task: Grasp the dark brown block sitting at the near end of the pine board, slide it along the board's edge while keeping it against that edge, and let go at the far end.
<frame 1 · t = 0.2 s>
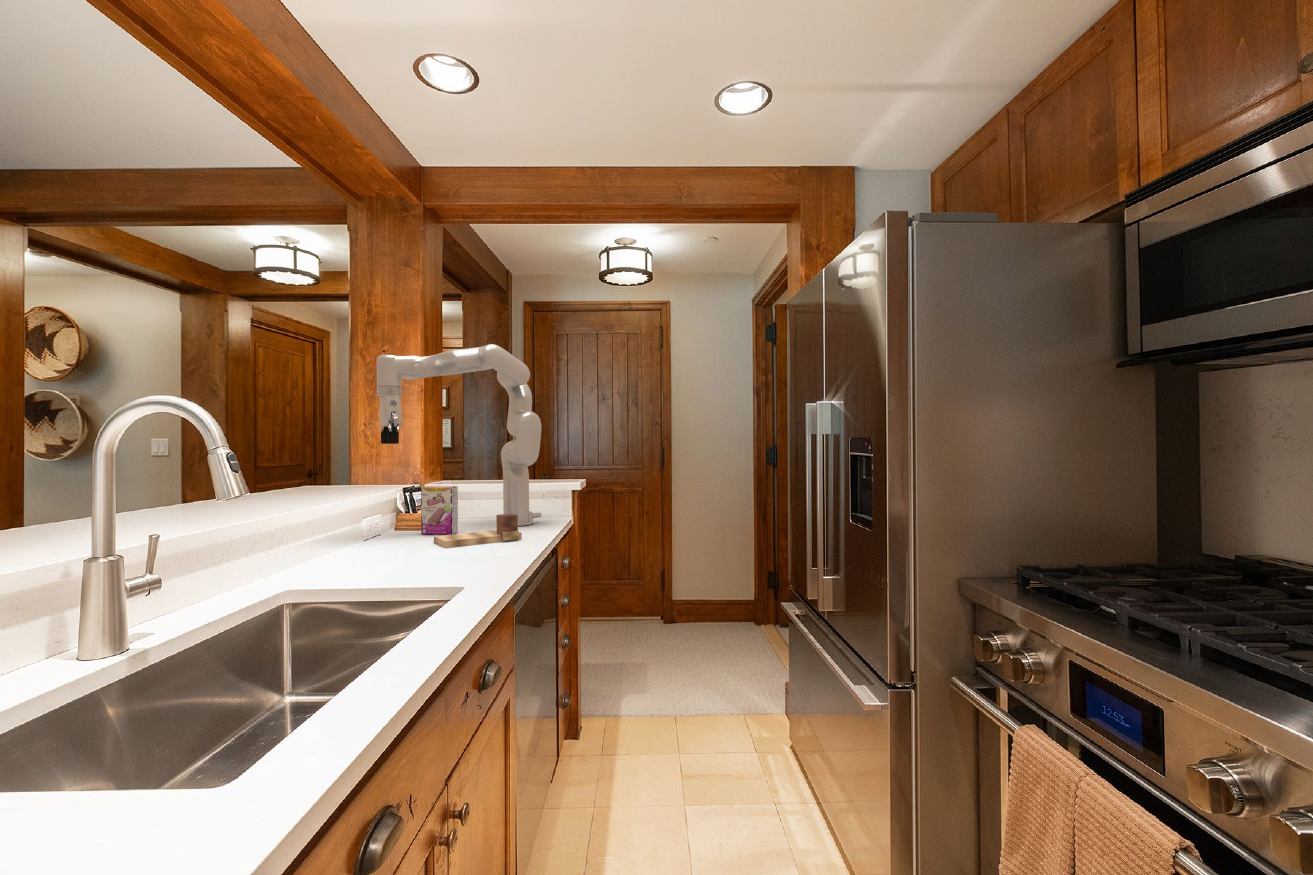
hand: (389, 443, 203), 31 cm above the worktop, fingers open, 9 cm apart
brown block: (507, 533, 194), point 2 cm above the worktop, touching pine board
candy bar box: (439, 534, 208), on the worktop
pine board: (478, 541, 193), on the worktop
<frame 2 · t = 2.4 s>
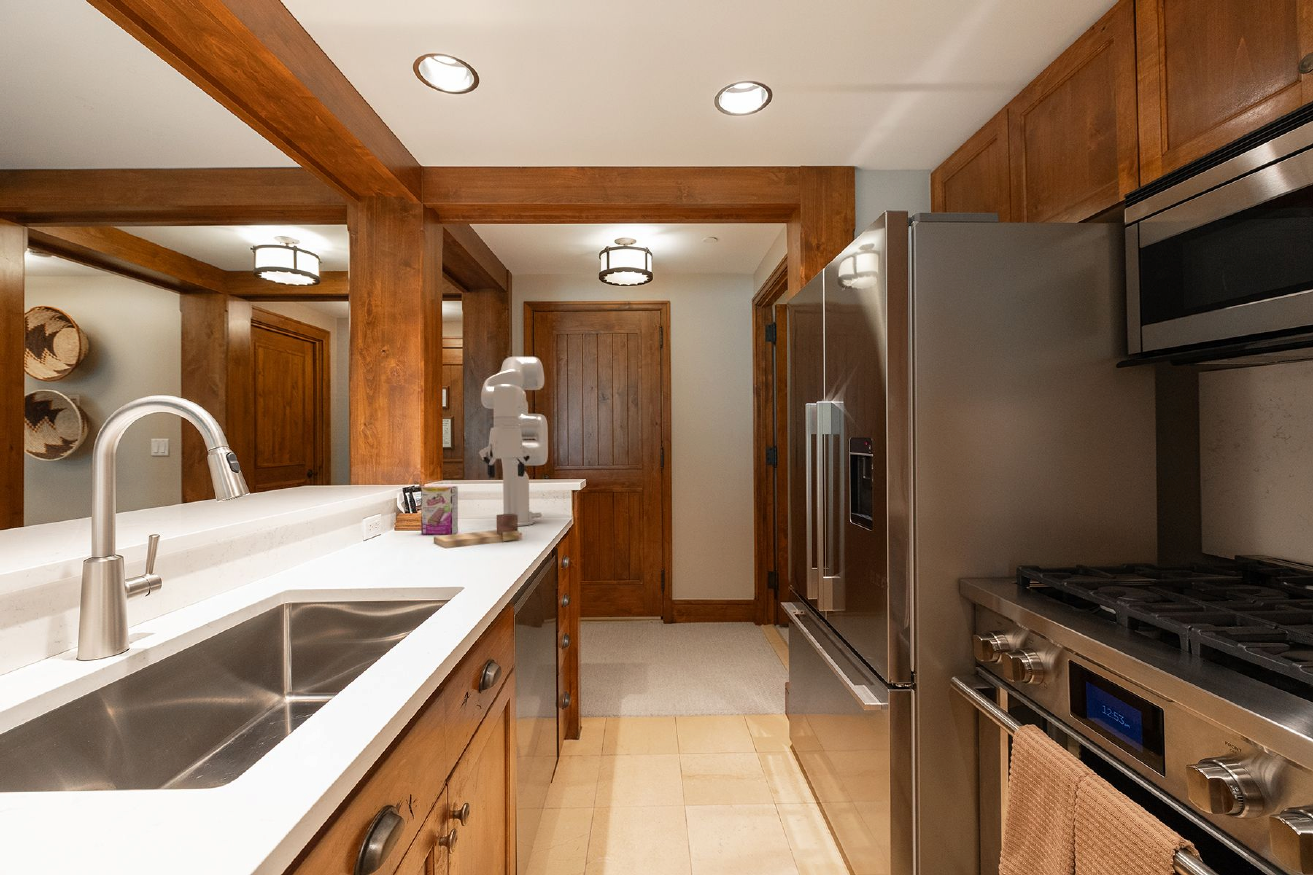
hand: (506, 477, 194), 20 cm above the worktop, fingers open, 9 cm apart
nothing on the worktop moved.
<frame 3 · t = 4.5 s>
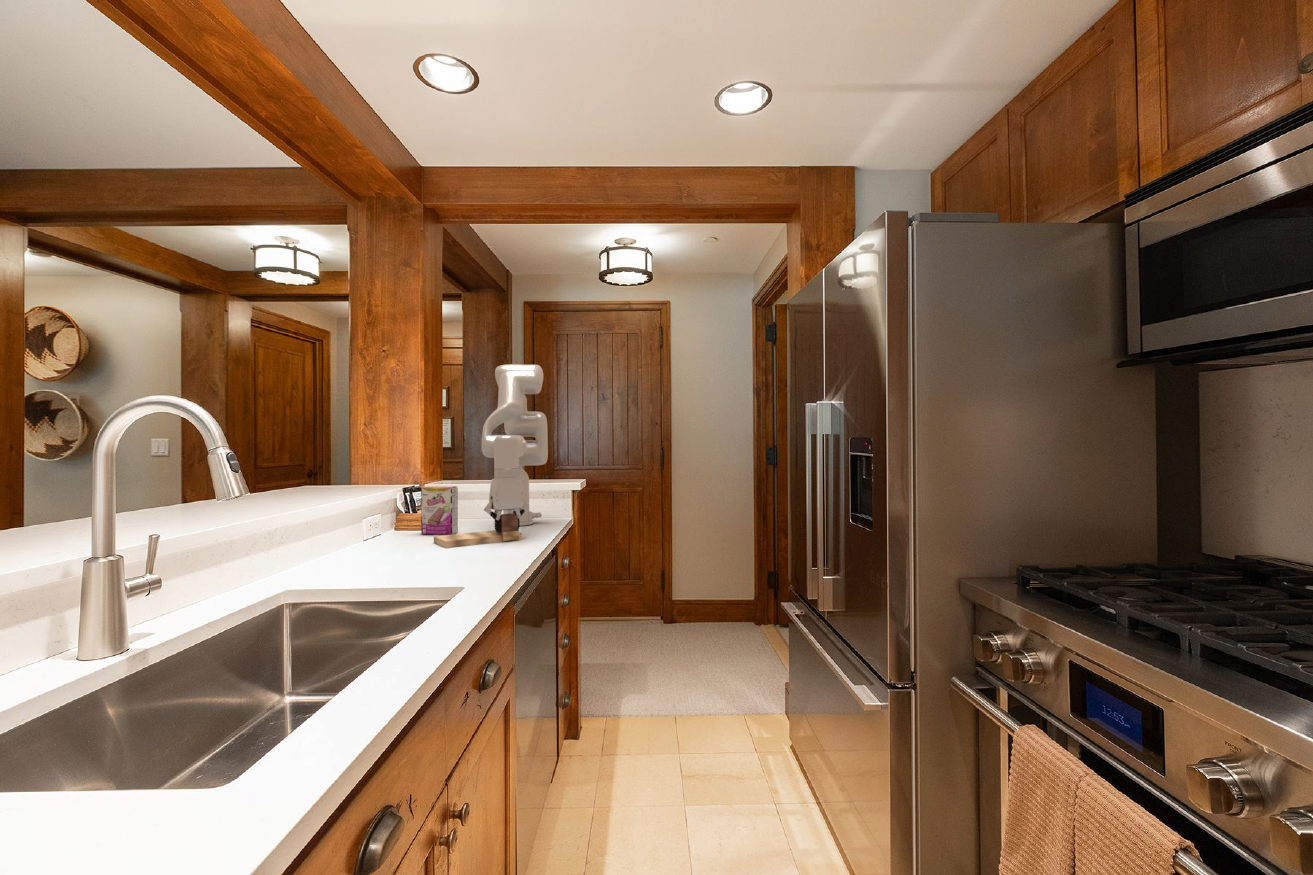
hand: (507, 530, 194), 3 cm above the worktop, fingers closed on brown block, 5 cm apart
brown block: (507, 533, 194), point 2 cm above the worktop, touching gripper, pine board
everything else where it was.
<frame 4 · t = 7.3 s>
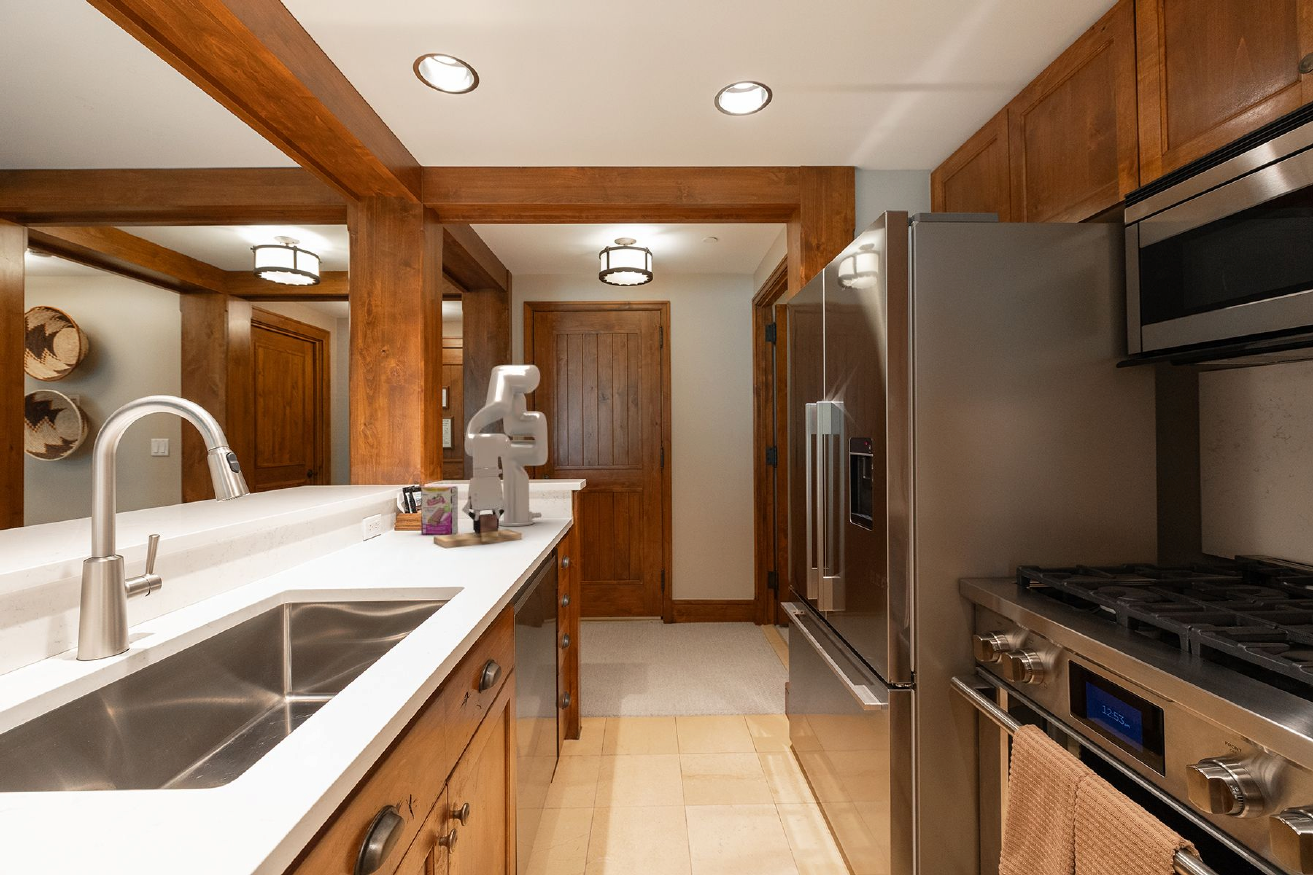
hand: (486, 531, 190), 3 cm above the worktop, fingers closed on brown block, 5 cm apart
brown block: (486, 534, 190), point 2 cm above the worktop, touching gripper
everything else where it was.
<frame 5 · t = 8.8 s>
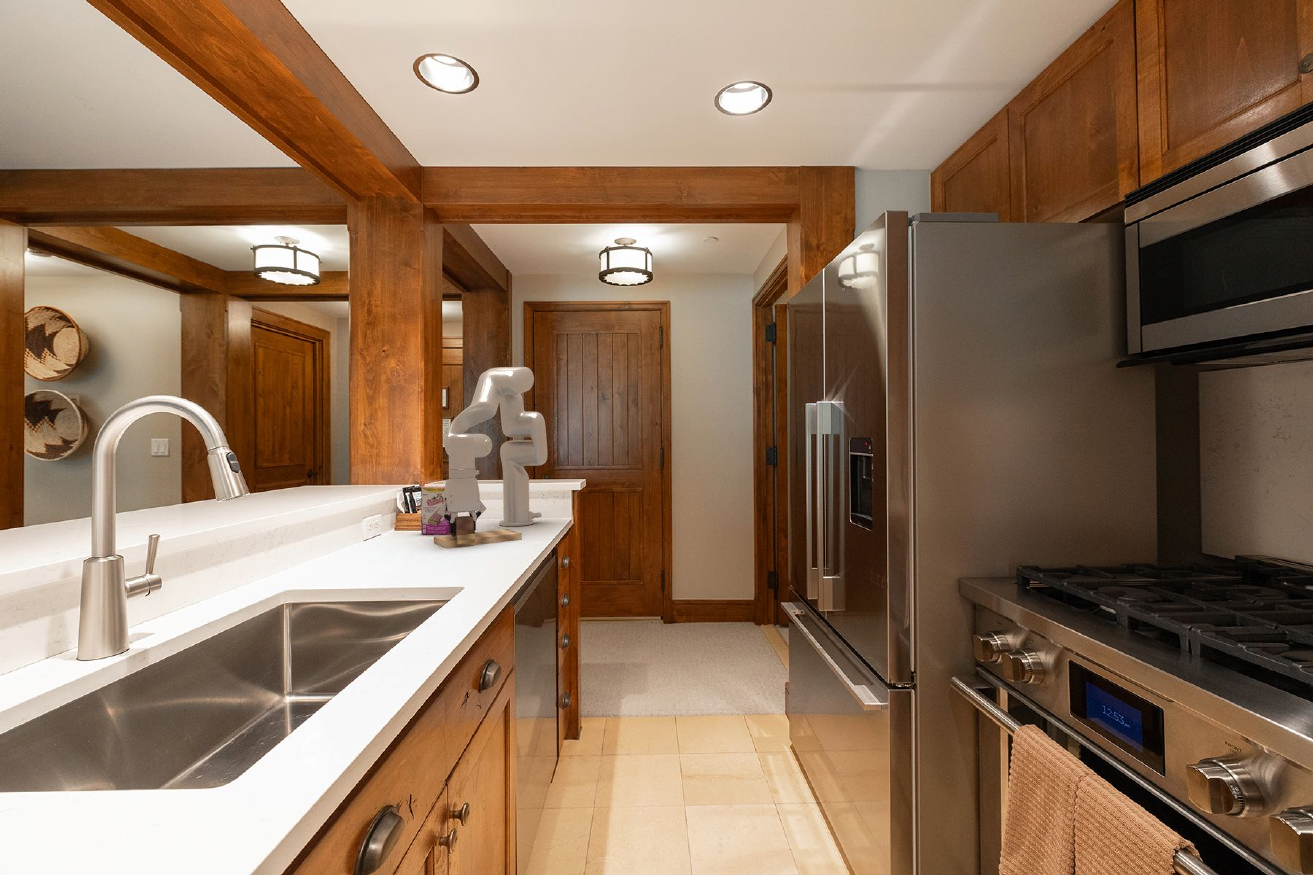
hand: (462, 533, 186), 3 cm above the worktop, fingers closed on brown block, 5 cm apart
brown block: (462, 536, 186), point 2 cm above the worktop, touching gripper
everything else where it was.
when the fingers open (3 cm above the worktop, at t = 9.9 s): brown block stays where it is, resting on pine board.
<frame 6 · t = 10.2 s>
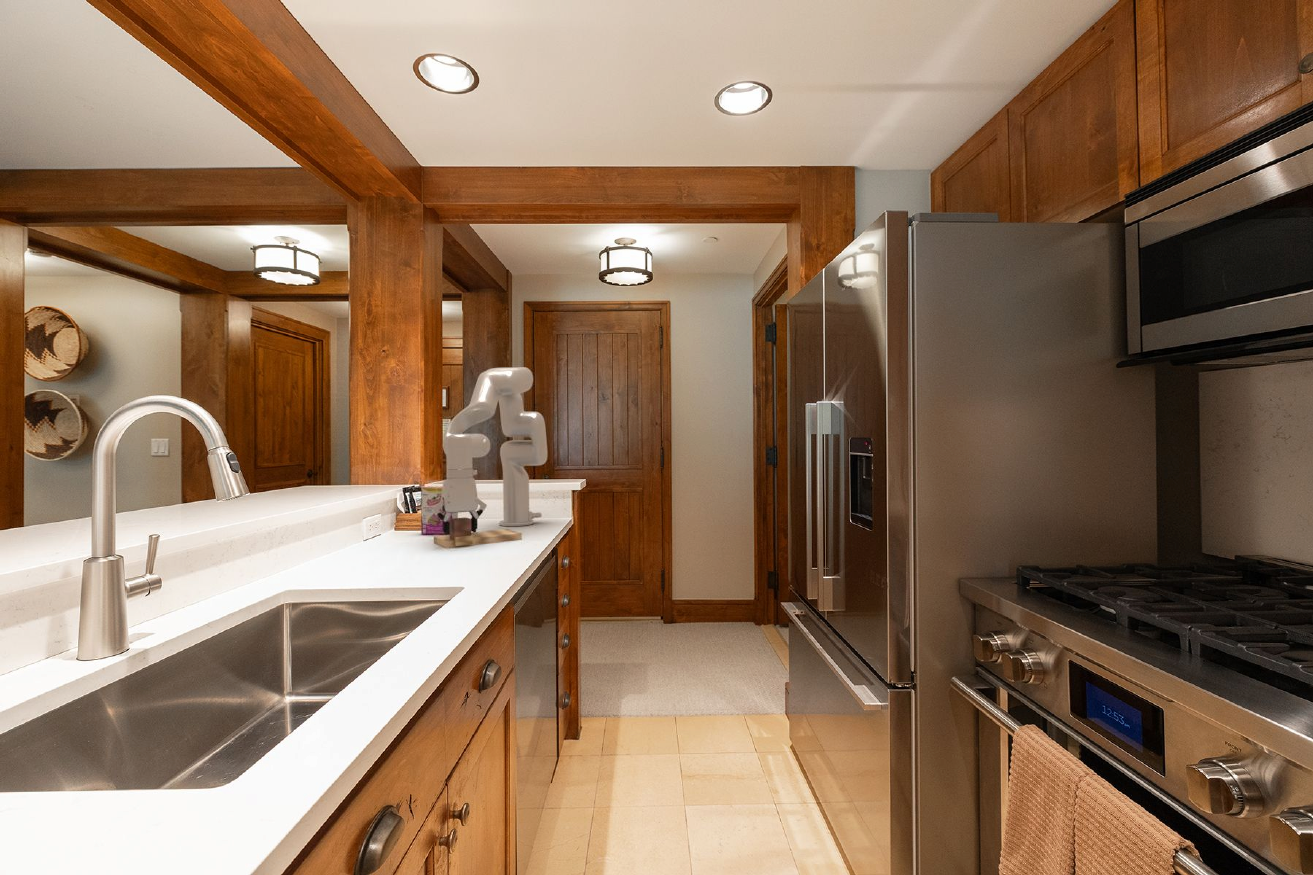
hand: (460, 532, 185), 4 cm above the worktop, fingers open, 7 cm apart
brown block: (460, 538, 185), point 2 cm above the worktop, touching pine board
everything else where it was.
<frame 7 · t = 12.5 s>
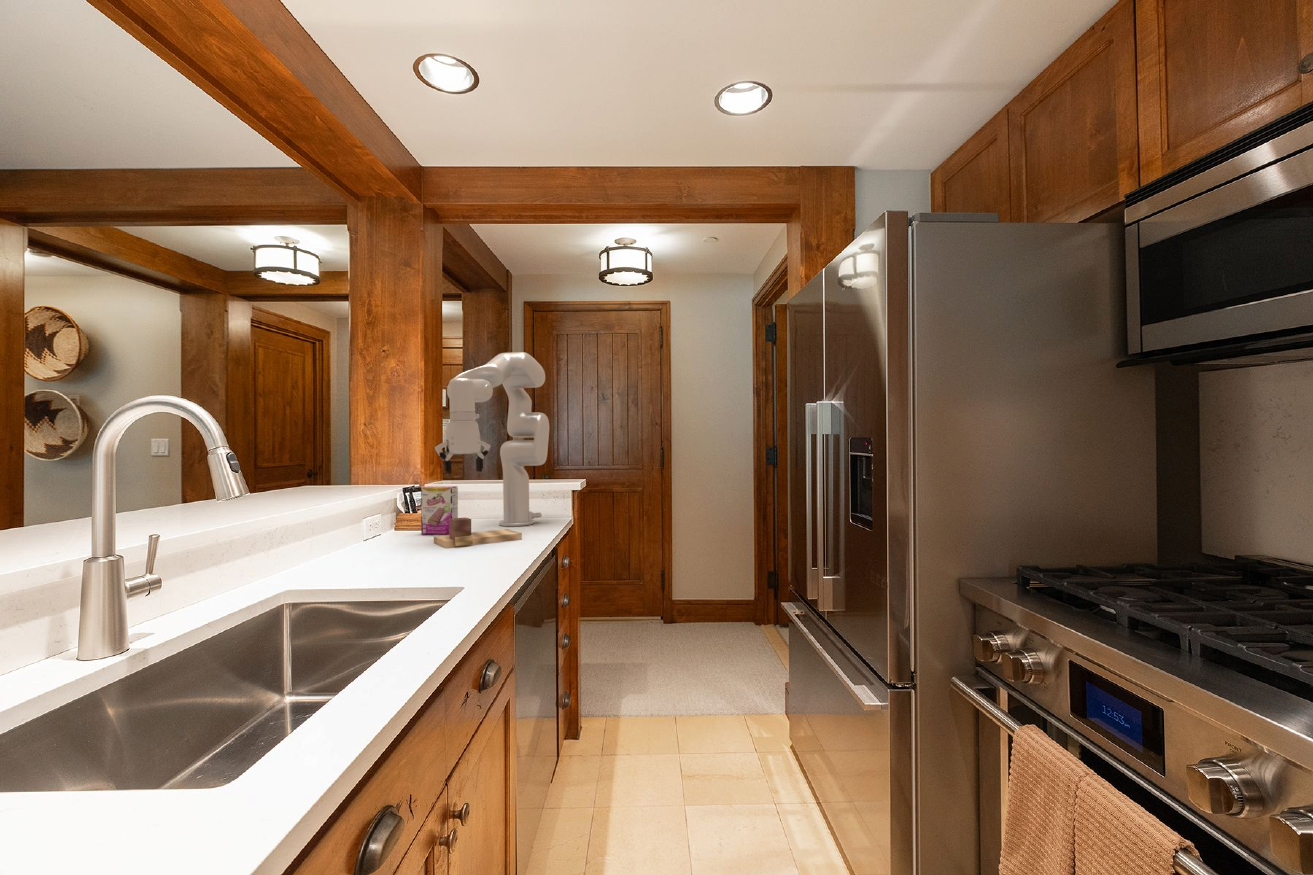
hand: (464, 472, 192), 22 cm above the worktop, fingers open, 9 cm apart
nothing on the worktop moved.
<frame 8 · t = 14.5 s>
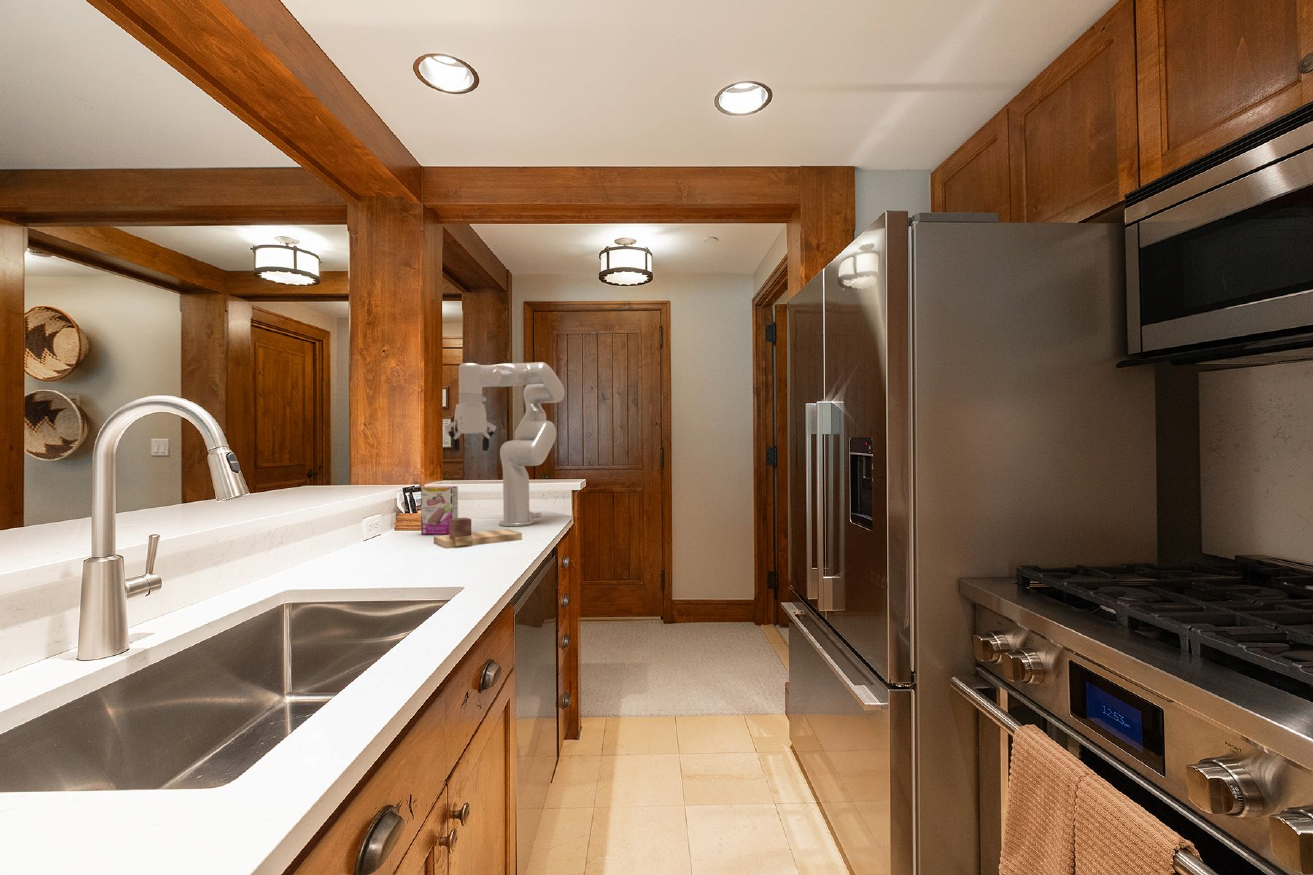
hand: (471, 450, 206), 28 cm above the worktop, fingers open, 9 cm apart
nothing on the worktop moved.
at the end: brown block 0.1 cm from the target spot, point 2.0 cm above the worktop; brown block tilted 0°; the gripper is holding nothing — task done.
